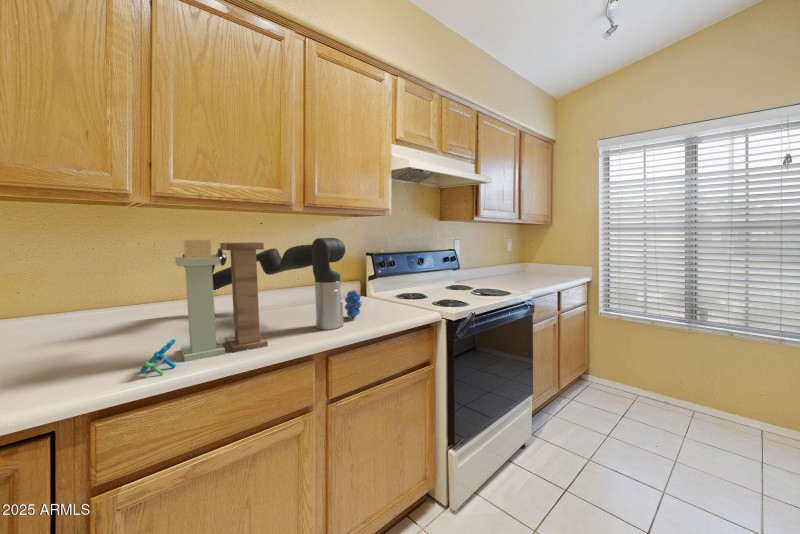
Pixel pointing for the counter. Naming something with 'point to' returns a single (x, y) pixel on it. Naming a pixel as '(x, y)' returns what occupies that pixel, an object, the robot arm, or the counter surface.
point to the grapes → (353, 303)
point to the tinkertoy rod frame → (160, 357)
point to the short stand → (200, 308)
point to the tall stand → (244, 296)
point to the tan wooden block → (197, 249)
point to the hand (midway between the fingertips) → (206, 250)
